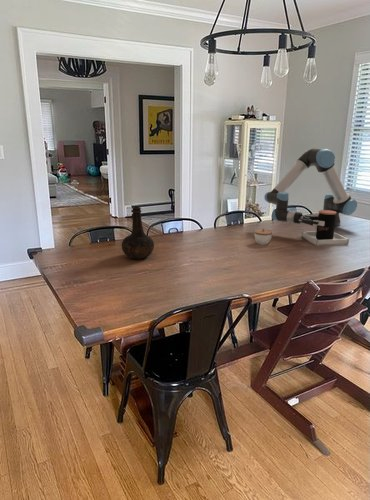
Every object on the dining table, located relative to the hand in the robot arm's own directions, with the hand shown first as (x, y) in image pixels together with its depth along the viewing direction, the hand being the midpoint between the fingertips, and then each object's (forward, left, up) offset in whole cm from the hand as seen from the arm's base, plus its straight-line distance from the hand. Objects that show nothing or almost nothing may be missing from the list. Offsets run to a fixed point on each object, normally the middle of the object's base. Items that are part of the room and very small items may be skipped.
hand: (327, 221), depth 237 cm
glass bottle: (+120, +17, -13) cm, 122 cm away
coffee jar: (0, -1, -12) cm, 12 cm away
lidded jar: (+42, 0, -13) cm, 44 cm away
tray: (0, -1, -13) cm, 13 cm away
